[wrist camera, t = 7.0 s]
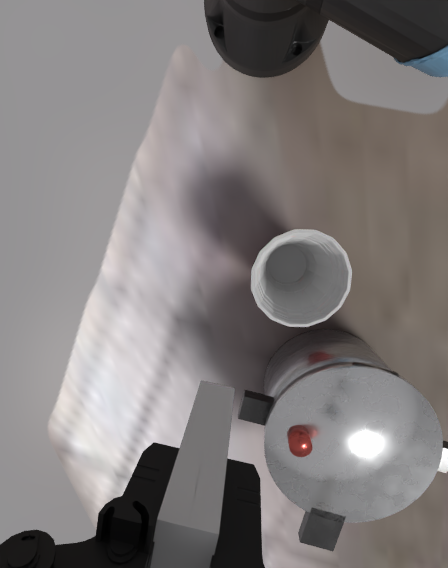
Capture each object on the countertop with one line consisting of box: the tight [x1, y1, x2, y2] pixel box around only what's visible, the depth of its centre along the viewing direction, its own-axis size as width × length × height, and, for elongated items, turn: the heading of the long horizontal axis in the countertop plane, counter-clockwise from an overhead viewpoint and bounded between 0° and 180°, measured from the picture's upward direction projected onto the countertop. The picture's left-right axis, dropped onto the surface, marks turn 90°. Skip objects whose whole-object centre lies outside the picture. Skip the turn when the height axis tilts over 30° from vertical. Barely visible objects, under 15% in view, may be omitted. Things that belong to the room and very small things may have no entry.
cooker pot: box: [238, 329, 448, 473], centre depth 43 cm, size 18×25×12 cm
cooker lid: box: [264, 362, 443, 551], centre depth 36 cm, size 23×19×4 cm
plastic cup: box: [251, 229, 352, 327], centre depth 40 cm, size 11×11×12 cm
